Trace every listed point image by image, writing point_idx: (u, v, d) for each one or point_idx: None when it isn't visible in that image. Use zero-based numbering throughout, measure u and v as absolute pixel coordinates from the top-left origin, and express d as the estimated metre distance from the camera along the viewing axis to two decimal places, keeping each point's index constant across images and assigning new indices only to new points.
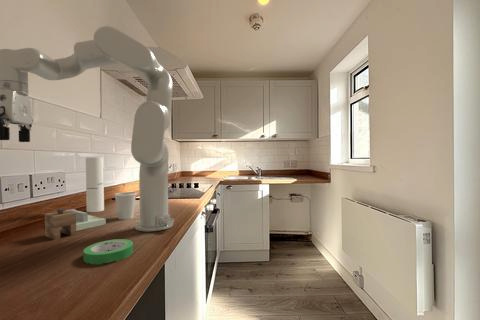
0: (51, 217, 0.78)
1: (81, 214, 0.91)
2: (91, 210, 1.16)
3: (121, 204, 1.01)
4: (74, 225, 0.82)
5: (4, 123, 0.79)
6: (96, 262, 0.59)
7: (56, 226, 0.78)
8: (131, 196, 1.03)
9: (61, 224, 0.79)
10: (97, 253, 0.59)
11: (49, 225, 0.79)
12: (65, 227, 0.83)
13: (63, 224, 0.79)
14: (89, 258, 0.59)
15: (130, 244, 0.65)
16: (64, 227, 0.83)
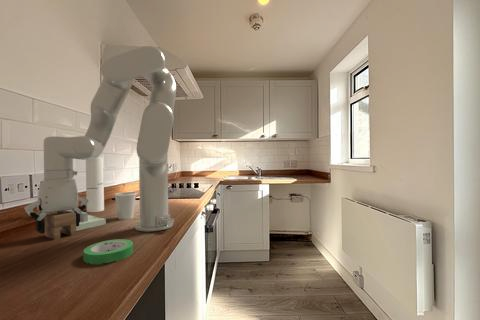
0: (51, 217, 0.78)
1: (81, 214, 0.91)
2: (91, 210, 1.16)
3: (121, 204, 1.01)
4: (74, 225, 0.82)
5: None
6: (96, 262, 0.59)
7: (56, 226, 0.78)
8: (131, 196, 1.03)
9: (61, 224, 0.79)
10: (97, 253, 0.59)
11: (49, 225, 0.79)
12: (65, 227, 0.83)
13: (63, 224, 0.79)
14: (89, 258, 0.59)
15: (130, 244, 0.65)
16: (64, 227, 0.83)
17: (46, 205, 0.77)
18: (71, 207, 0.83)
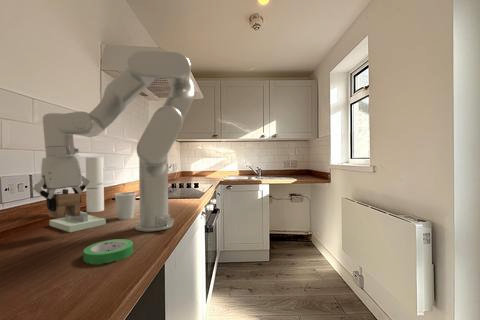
0: (56, 196, 0.79)
1: (81, 214, 0.91)
2: (91, 210, 1.16)
3: (121, 204, 1.01)
4: (78, 206, 0.82)
5: None
6: (96, 262, 0.59)
7: (61, 205, 0.78)
8: (131, 196, 1.03)
9: (65, 204, 0.79)
10: (97, 253, 0.59)
11: None
12: (69, 208, 0.83)
13: (67, 203, 0.79)
14: (89, 258, 0.59)
15: (130, 244, 0.65)
16: (68, 209, 0.84)
17: (50, 181, 0.77)
18: (75, 184, 0.83)
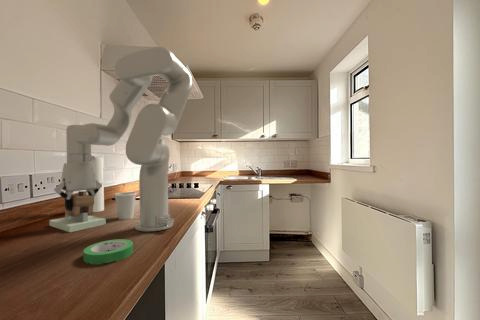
0: (73, 197, 0.90)
1: (81, 214, 0.91)
2: None
3: (121, 204, 1.01)
4: (91, 207, 0.93)
5: None
6: (96, 262, 0.59)
7: (77, 205, 0.89)
8: (131, 196, 1.03)
9: (81, 204, 0.90)
10: (97, 253, 0.59)
11: None
12: (83, 208, 0.94)
13: (83, 204, 0.90)
14: (89, 258, 0.59)
15: (130, 244, 0.65)
16: (82, 208, 0.95)
17: (69, 184, 0.88)
18: (90, 187, 0.94)
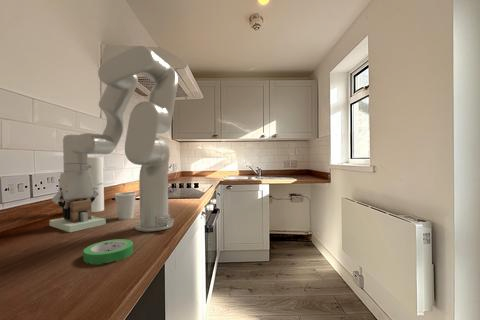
0: (70, 203, 0.90)
1: (81, 214, 0.91)
2: (91, 210, 1.16)
3: (121, 204, 1.01)
4: (90, 210, 0.94)
5: None
6: (96, 262, 0.59)
7: (75, 211, 0.90)
8: (131, 196, 1.03)
9: (79, 209, 0.91)
10: (97, 253, 0.59)
11: None
12: None
13: (81, 209, 0.91)
14: (89, 258, 0.59)
15: (130, 244, 0.65)
16: None
17: (66, 193, 0.90)
18: (87, 196, 0.95)
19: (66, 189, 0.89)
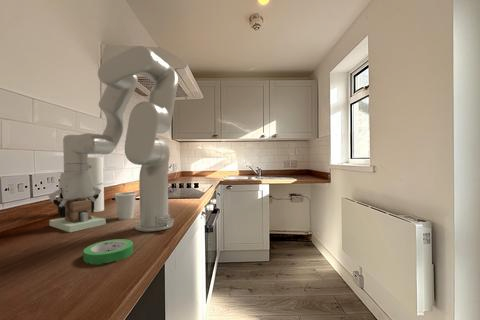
0: (70, 203, 0.90)
1: (81, 214, 0.91)
2: None
3: (121, 204, 1.01)
4: (90, 211, 0.94)
5: None
6: (96, 262, 0.59)
7: (75, 211, 0.90)
8: (131, 196, 1.03)
9: (79, 210, 0.91)
10: (97, 253, 0.59)
11: (68, 210, 0.91)
12: None
13: (81, 209, 0.91)
14: (89, 258, 0.59)
15: (130, 244, 0.65)
16: None
17: (66, 193, 0.90)
18: (87, 196, 0.95)
19: (66, 189, 0.90)
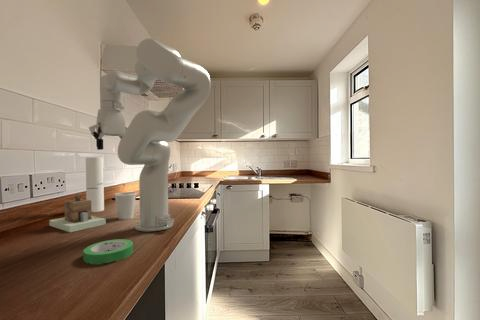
0: (70, 203, 0.90)
1: (81, 214, 0.91)
2: None
3: (121, 204, 1.01)
4: (90, 211, 0.94)
5: None
6: (96, 262, 0.59)
7: (75, 211, 0.90)
8: (131, 196, 1.03)
9: (79, 210, 0.91)
10: (97, 253, 0.59)
11: (68, 210, 0.91)
12: None
13: (81, 209, 0.91)
14: (89, 258, 0.59)
15: (130, 244, 0.65)
16: None
17: (104, 127, 0.98)
18: (121, 133, 1.04)
19: (104, 123, 0.98)
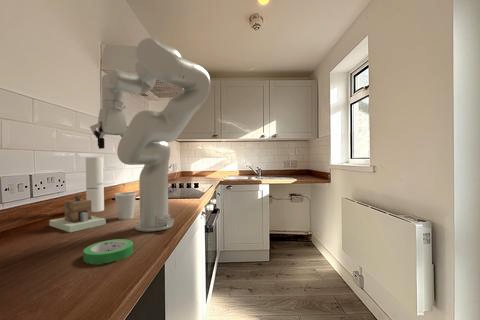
0: (70, 203, 0.90)
1: (81, 214, 0.91)
2: None
3: (121, 204, 1.01)
4: (90, 211, 0.94)
5: None
6: (96, 262, 0.59)
7: (75, 211, 0.90)
8: (131, 196, 1.03)
9: (79, 210, 0.91)
10: (97, 253, 0.59)
11: (68, 210, 0.91)
12: None
13: (81, 209, 0.91)
14: (89, 258, 0.59)
15: (130, 244, 0.65)
16: None
17: (105, 126, 0.99)
18: (122, 132, 1.05)
19: (105, 122, 0.99)
